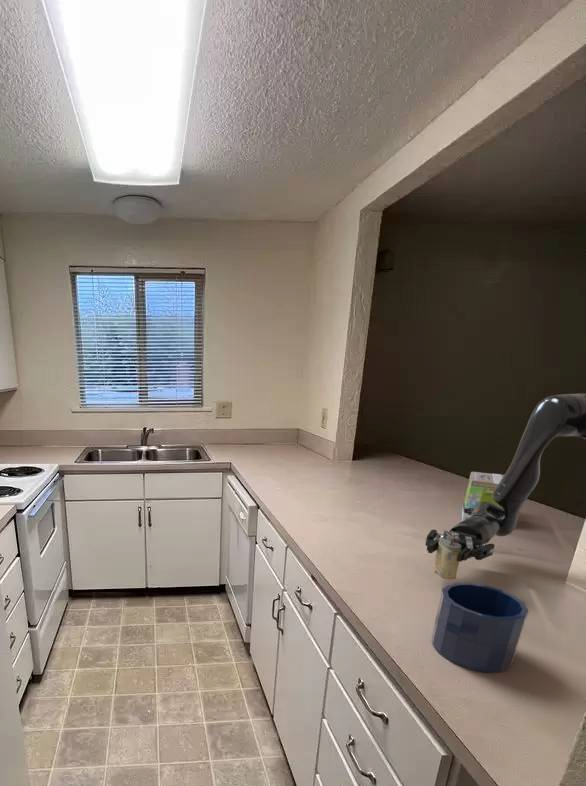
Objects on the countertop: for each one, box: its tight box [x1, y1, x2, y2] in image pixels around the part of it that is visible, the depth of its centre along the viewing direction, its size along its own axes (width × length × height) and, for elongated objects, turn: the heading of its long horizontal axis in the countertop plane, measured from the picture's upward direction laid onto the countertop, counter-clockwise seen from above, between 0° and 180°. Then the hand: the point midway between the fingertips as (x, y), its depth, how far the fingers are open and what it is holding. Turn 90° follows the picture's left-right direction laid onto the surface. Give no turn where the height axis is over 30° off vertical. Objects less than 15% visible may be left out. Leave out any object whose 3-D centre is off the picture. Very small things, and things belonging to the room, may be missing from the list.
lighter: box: [432, 530, 461, 581], centre depth 100 cm, size 7×4×10 cm, turn 169°
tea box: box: [461, 471, 505, 522], centre depth 145 cm, size 15×10×15 cm
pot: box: [431, 582, 530, 674], centre depth 80 cm, size 13×13×11 cm
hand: (444, 553), depth 98 cm, fingers closed on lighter, 5 cm apart
